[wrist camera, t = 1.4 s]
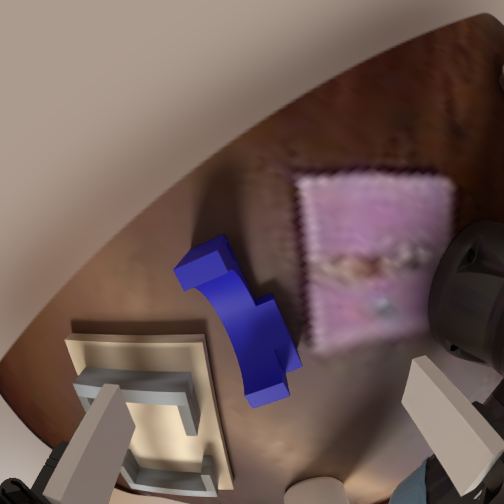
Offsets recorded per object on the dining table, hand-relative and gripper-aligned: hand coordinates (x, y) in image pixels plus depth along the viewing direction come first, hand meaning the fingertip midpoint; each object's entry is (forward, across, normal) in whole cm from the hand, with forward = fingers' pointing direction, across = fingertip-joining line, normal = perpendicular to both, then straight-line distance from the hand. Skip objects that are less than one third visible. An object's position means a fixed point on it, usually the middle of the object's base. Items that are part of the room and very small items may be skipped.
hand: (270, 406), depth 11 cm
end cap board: (+13, +12, +15) cm, 23 cm away
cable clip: (+14, +1, +1) cm, 14 cm away
